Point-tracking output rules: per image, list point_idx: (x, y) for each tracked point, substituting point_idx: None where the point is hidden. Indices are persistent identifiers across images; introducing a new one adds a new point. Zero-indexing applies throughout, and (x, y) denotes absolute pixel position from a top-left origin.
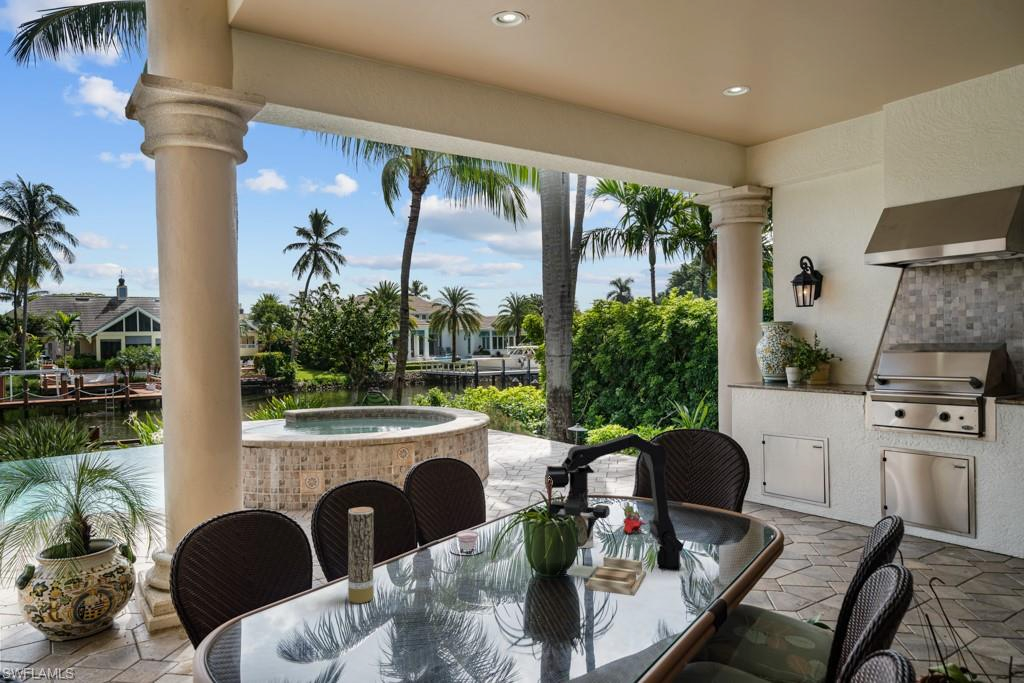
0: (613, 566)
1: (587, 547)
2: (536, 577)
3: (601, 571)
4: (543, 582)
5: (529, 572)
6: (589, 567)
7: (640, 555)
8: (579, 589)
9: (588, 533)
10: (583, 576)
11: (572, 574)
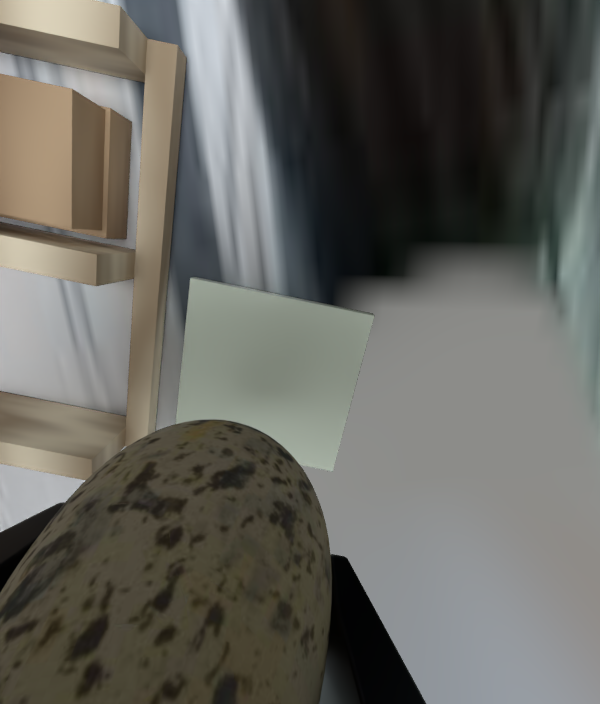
0: (56, 421)
1: None
2: (529, 233)
3: (40, 170)
4: (482, 136)
5: (573, 322)
6: None
7: None
8: (221, 33)
9: (2, 544)
10: (225, 285)
11: (295, 300)
